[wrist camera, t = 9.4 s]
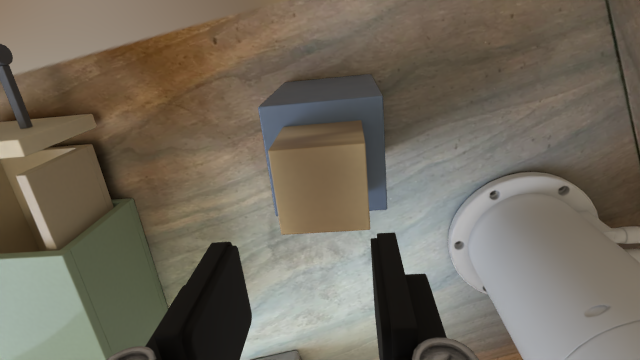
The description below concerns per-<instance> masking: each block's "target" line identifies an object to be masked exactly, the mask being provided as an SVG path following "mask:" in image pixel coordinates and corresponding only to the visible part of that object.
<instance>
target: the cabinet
mask: <svg viewBox="0 0 640 360" xmlns="http://www.w3.org/2000/svg"><path fill="white" fill-rule="evenodd" d="M111 201H112V204H113V207H114V208H113V209H112V210H110V211H109V212H108V213H107V214H105V215H104V216H103V217H102V218H100V219H99V220H98V221H96V222H95V223H94V224H93V225H91V226H90V227H89V228H88V229H86V230H85V231H84V232H82V233H81V234H80V235H79V236H77V237H76V238H75V239H74V240H72V241H71V242H70V243H69V244H67V245H66V246H65V247H63V248H62V249H61V250H56V251H38V252H21V253H3V254H0V360H106V359H108V358H109V357H111V356H112V355H114V354H115V353H117V352H120V351H122V350H124V349H127V348H130V347H136V346H144V347H145V346H146V344H147V343H148V341H149V339H150V338H151V336H152V335H153V333H154V331H155V330H156V328H157V327H158V325H159V323H160V322H161V320H162V319H163V317H164V315H165V314H166V312H167V311H168V307H167V304H166V301H165V298H164V295H163V292H162V288H161V285H160V282H159V279H158V276H157V273H156V269H155V266H154V263H153V260H152V257H151V254H150V250H149V247H148V244H147V241H146V238H145V235H144V231H143V228H142V225H141V222H140V219H139V216H138V212H137V209H136V206H135V203H134V200H133V198H129V199H115V200H111Z"/></svg>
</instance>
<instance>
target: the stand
mask: <svg viewBox="0 0 640 360" xmlns="http://www.w3.org/2000/svg"><path fill="white" fill-rule="evenodd" d="M258 109H259V116H260V122H261V128H262V134H263V140H264V146H265V152H266V159H267V165H268V171H269V177H270V183H271V189H272V195H273V202H274V208H275V214H276V216H278V211H277V204H276V198H275V192H274V186H273V179H272V173H271V167H270V161H269V154H268V150H269V149H270V147H271V146H272V144H273V142H274V141H275V139H276V137H277V136H278V134H279V133H280V131H281V129H282V128H283V127H288V126H299V125H311V124H323V123H335V122H346V121H358V120H361V121H362V127H363V133H364V139H365V147H366V164H367V181H368V198H369V211H372V210H386V209H387V190H386V164H385V138H384V112H383V96H382V94H381V92H380V90H379V88H378V86H377V84H376V83H375V81H374V79H373V77H372V75H371V74H366V75H356V76H345V77H335V78H325V79H314V80H304V81H293V82H285V83H284V84H283V85H281V86H280V87H279V88H278V89H277V90H276V91H275V92H274V93H273V94H272V95H271V96H270V97H269V98H268V99H267V100H265V101H264V102H263V103H262V104H261V105H260V106H259V107H258Z"/></svg>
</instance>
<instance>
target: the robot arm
mask: <svg viewBox="0 0 640 360" xmlns="http://www.w3.org/2000/svg"><path fill="white" fill-rule="evenodd" d="M492 191H494V192H493V193H491V192H492ZM616 243H622V244H632V243H640V227H638V226H628V227H619V228H610V227H609V226H607V225H606V224H604V223H603V222H602V221H601V220H599V219H598V214H597V211H596V209H595V207H594V205H593V203H592V201H591V200H590V198H589V197H588V196H587V195H586V194H585V193H584V192H583V191H582V190H581V189H579V188H578V187H577V186H575V185H574V184H573V183H571V182H569V181H567V180H565V179H563V178H561V177H558V176H555V175H552V174H548V173H540V172H524V173H516V174H512V175H508V176H504V177H501V178H499V179H496V180H494V181H492V182H489V183H488V184H486V185H485V186H483V187H481V188H480V189H478V190H477V191H476V192H474V193H473V194H472V195H471V196H470V197H469V198H468V199H467V200H466V201H465V202H464V203H463V204H462V206H461V207H460V208H459V209H458V211H457V213H456V215H455V216H454V218H453V220H452V223H451V226H450V229H449V234H448V249H449V255H450V257H451V260H452V263H453V265H454V267H455V269H456V271H457V272H458V274H459V275H460V276H461V278H462V279H463V280H464V281H465V282H466V283H467V284H469V285H470V286H471V287H473V288H474V289H476V290H478V291H480V292H482V293H484V294H487V295H489V296H490V298H491V300H492V302H493V304H494V306H495V308H496V310H497V312H498V313H499V315H500V317H501V319H502V321H503V323H504V325H505V327H506V328H507V330H508V332H509V334H510V336H511V338H512V340H513V342H514V343H515V345H516V347H517V349H518V351H519V353H520V355H521V357H522V358H523V360H640V249H622V248H621V247H620V246H619V245H617V244H616ZM371 254H372V271H373V288H374V305H375V318H376V328H377V338H378V348H379V358H380V360H479V359H478V358H477V356H476V355H475V354H474V352H473V351H472V350H471V349H469V348H468V347H467V346H466V345H464V344H462V343H460V342H458V341H456V340H453V339H448V338H447V337H446V334H445V331H444V328H443V325H442V322H441V319H440V316H439V313H438V310H437V306H436V303H435V300H434V297H433V294H432V291H431V288H430V285H429V282H428V279H427V276H426V274H410V275H405V273H404V268H403V264H402V260H401V256H400V252H399V247H398V243H397V239H396V235H395V233H379V234H377V238H372V239H371ZM251 320H252V313H251V308H250V303H249V298H248V294H247V289H246V284H245V280H244V275H243V270H242V266H241V261H240V256H239V252H238V248H237V246H232V244H231V243H230V242H217V243H212V244H211V245H210V246H209V248H208V250H207V251H206V253H205V254H204V256H203V258H202V259H201V261H200V263H199V264H198V266H197V267H196V269H195V271H194V272H193V274H192V275H191V277H190V279H189V280H188V282H187V284H186V285H184V286H183V287H182V288H181V290H180V291H179V293H178V295H177V296H176V298H175V299H174V301H173V303H172V304H171V306H170V307H169V309H168V311H167V312H166V314H165V315H164V317H163V319H162V320H161V322H160V323H159V325H158V327H157V328H156V330H155V331H154V333H153V335H152V336H151V338H150V339H149V341H148V343H147V344H146V346H145V347H144V346H136V347H130V348H127V349H124V350H122V351H120V352H117V353H115V354H114V355H112V356H111V357H109V358H108V359H106V360H240V357H241V353H242V350H243V347H244V344H245V341H246V338H247V335H248V331H249V328H250V325H251Z"/></svg>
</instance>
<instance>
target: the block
mask: <svg viewBox="0 0 640 360" xmlns="http://www.w3.org/2000/svg"><path fill="white" fill-rule="evenodd" d="M268 154H269V161H270V167H271V173H272V179H273V186H274V192H275V198H276V204H277V211H278V217H279V223H280V229H281V234H282V235H285V234H303V233H320V232H338V231H355V230H370V215H369V198H368V181H367V164H366V147H365V139H364V133H363V127H362V121H361V120H358V121H346V122H335V123H323V124H311V125H299V126H288V127H283V128H282V129H281V131H280V133H279V134H278V136H277V137H276V139H275V141H274V142H273V144H272V146H271V147H270V149H269V150H268Z"/></svg>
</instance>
